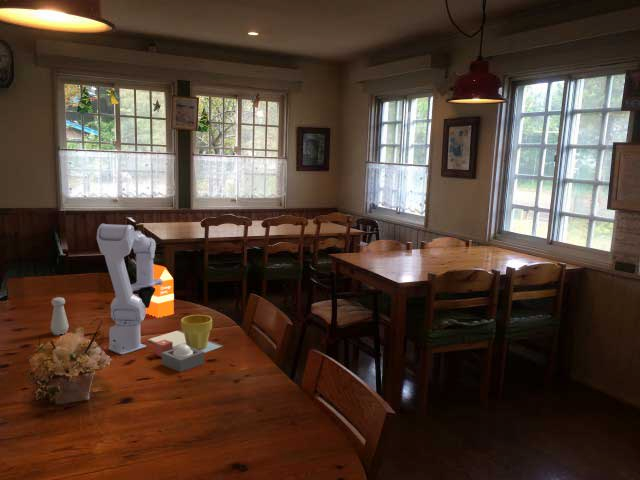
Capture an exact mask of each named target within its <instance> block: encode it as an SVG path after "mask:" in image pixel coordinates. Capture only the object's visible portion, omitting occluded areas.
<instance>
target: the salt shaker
mask: <svg viewBox="0 0 640 480" xmlns="http://www.w3.org/2000/svg"><path fill="white" fill-rule="evenodd" d="M65 304H66V299H65V298H64V297H60V296H59V297H53V298H52V299H51V306H53V309H52V317H51V322H50V330H51V332H52V335H54V336H61V335H60V334H64V333H65V334H67V332H68V330H69V327H70V326H69V322H68V317H67V315H66V310H65V307H64V305H65ZM65 334H64V335H65Z"/></svg>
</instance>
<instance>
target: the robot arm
mask: <svg viewBox="0 0 640 480" xmlns="http://www.w3.org/2000/svg"><path fill="white" fill-rule="evenodd" d="M96 241H97V245H98V248H99V251H100V253H101V254H102V255H103V256H104V258H105V263H106V266H107V270H108V273H109V276H110V280H111V282H112V287H113V290H114V293H115V298H113V299H112V301H111V303H110V305H109V306H110V316H111V319H112V320H113V321H114V322H115V324H114V325H113V326H111V327H110V328H109V331H108V338H109V339H108V340H109V342H108V343H109V347H108V348H107V349H108V350H110V351H112V352H114V353H116V354H119V355H121V356H122V355H126V354H128V353H132V352H136V351H138V350H141V349H145V348H147V345H146V344H143V343H141V342H142V340H141V338H142V336H141V323H142V322H143V321H144V319H145V318H146V315H147V314H146V308H149V305H150V301H151V298H152V296H153V294H154V292H155V288H154V287H153V286H156V285H162V284H163V279H154V275H153V264H154V258H155V255H156V254H155V251H156V249H157V245H156V240H155V239H154V238H152V237H147V236H146V234H143V233H142V231H141V230H135V227H134V225H131V224H108V223H107V224H106V223H101V224H100V225H99V226H98V228H97V232H96ZM132 249H133V253H134V254H135V255H136V258H135V259H136V282H133V283H132V284H131V281H130V277H129V273H128V270H127V267H126V263H125V257H126V256H128V255H130V253H131V251H132ZM133 292H136V293H137V295H136V294H134V293H133Z"/></svg>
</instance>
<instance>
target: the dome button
mask: <svg viewBox="0 0 640 480" xmlns="http://www.w3.org/2000/svg"><path fill="white" fill-rule="evenodd" d="M192 354H193V351H192V350H191V349H190V347H189V346H188V345H185V344H182V345H179V346H178V347H177V348H176V350H175V351H174V352H173V355H175V356H177V357H180V358H183V357H186V356H189V355H192Z"/></svg>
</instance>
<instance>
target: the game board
mask: <svg viewBox="0 0 640 480" xmlns="http://www.w3.org/2000/svg"><path fill="white" fill-rule="evenodd" d="M162 340H168V341H170V342H173V349H174V348H177V347H178V346H179V345H182V344H185V345H187V344H186V340H185V336H184V332H183V331H182V330H179V329H178V330H175V331H171V332H169V333H168V332H167V333H164V334H162V335H161V334H160V335H159V336H154V337H151V338H149V339H146V341H147V342H150V343H153V344H155V342H158V341H162ZM222 347H224V345H222V344H219V343H217V342H214V341H211V340H208V344H207V347H206V348H203V349H200V350H201V351H203V352H204V354H206V353H208V352H211V351H214V350H217V349H220V348H222Z"/></svg>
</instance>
